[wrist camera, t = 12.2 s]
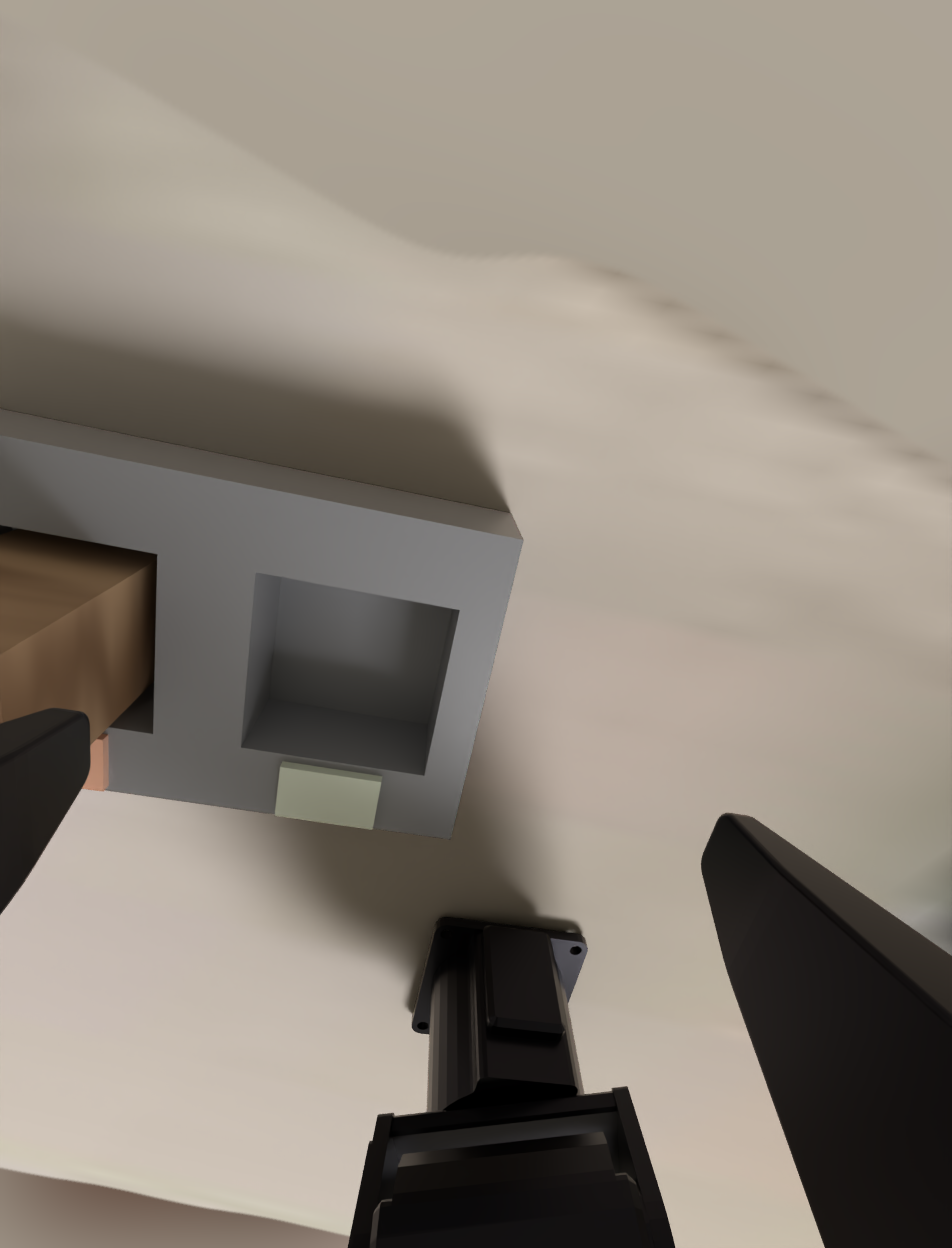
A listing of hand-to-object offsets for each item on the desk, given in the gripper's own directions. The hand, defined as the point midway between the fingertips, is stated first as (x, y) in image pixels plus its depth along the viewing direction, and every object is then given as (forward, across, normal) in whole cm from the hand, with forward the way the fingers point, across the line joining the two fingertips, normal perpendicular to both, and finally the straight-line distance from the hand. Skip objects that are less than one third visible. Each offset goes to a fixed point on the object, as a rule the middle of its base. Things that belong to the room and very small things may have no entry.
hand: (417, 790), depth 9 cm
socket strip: (+12, +6, +3) cm, 14 cm away
